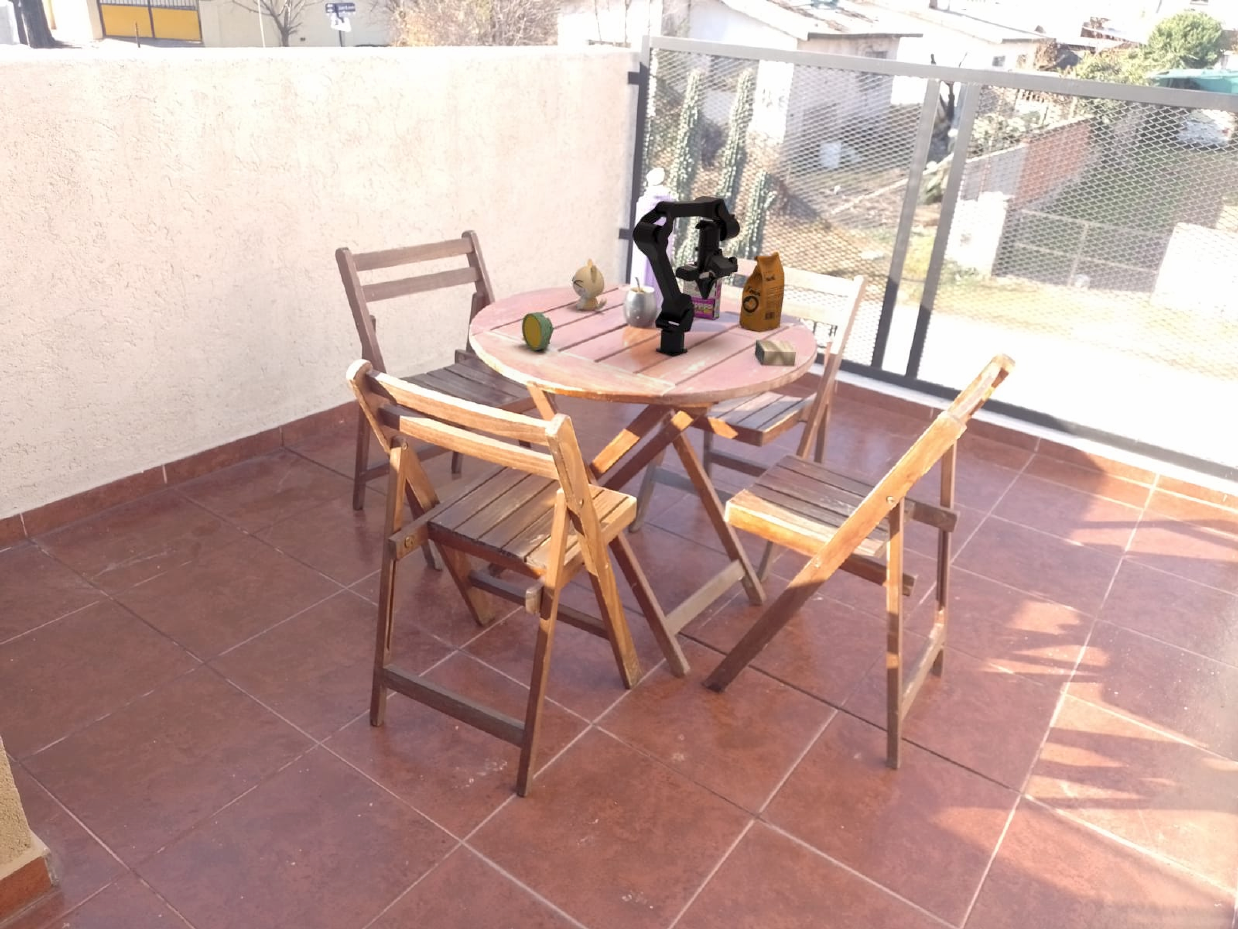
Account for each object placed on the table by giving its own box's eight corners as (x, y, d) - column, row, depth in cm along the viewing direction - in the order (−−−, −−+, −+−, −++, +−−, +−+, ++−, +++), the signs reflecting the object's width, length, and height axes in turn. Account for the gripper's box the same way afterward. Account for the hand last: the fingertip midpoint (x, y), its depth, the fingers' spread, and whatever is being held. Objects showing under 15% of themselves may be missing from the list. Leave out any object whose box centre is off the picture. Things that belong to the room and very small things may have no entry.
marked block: (762, 351, 238) (796, 352, 239) (756, 339, 247) (788, 340, 248) (760, 365, 240) (794, 366, 240) (754, 353, 249) (786, 354, 250)
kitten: (568, 302, 290) (569, 256, 284) (599, 302, 292) (600, 256, 286) (575, 315, 277) (575, 266, 271) (607, 315, 279) (608, 266, 272)
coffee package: (733, 326, 273) (740, 253, 264) (759, 319, 281) (766, 248, 272) (759, 333, 266) (767, 259, 257) (784, 326, 274) (793, 254, 265)
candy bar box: (719, 317, 282) (724, 264, 275) (713, 320, 278) (718, 267, 271) (687, 311, 286) (690, 259, 279) (680, 314, 282) (684, 262, 275)
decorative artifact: (521, 345, 248) (521, 309, 243) (543, 341, 252) (543, 306, 247) (542, 354, 241) (542, 318, 236) (563, 350, 245) (564, 314, 240)
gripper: (702, 255, 234) (698, 313, 242) (754, 246, 244) (749, 301, 252) (675, 246, 242) (672, 302, 250) (726, 237, 252) (722, 291, 260)
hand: (704, 299), depth 252 cm, fingers closed
